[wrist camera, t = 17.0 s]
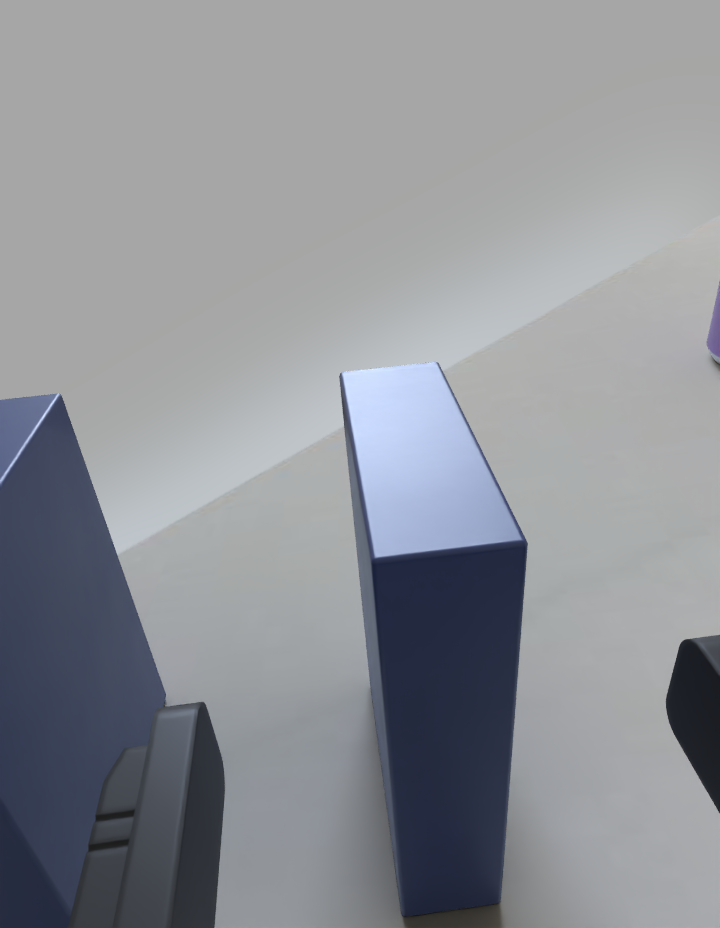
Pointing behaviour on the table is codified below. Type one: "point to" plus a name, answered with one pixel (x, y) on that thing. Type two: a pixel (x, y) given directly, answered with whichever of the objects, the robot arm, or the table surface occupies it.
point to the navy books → (59, 662)
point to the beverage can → (715, 331)
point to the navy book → (436, 630)
